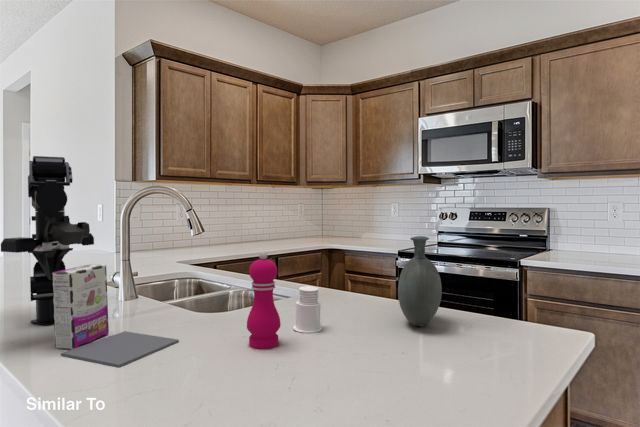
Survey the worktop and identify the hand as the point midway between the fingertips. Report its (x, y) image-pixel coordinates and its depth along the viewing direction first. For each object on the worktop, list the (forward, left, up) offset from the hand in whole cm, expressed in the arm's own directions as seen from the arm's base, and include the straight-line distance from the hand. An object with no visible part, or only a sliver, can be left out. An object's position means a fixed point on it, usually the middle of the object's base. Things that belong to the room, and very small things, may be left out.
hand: (51, 279), depth 101 cm
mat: (+22, 0, -13) cm, 26 cm away
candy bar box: (+10, 0, -13) cm, 17 cm away
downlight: (+52, +28, -13) cm, 60 cm away
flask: (+76, +42, -13) cm, 88 cm away
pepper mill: (+48, +14, -13) cm, 52 cm away
